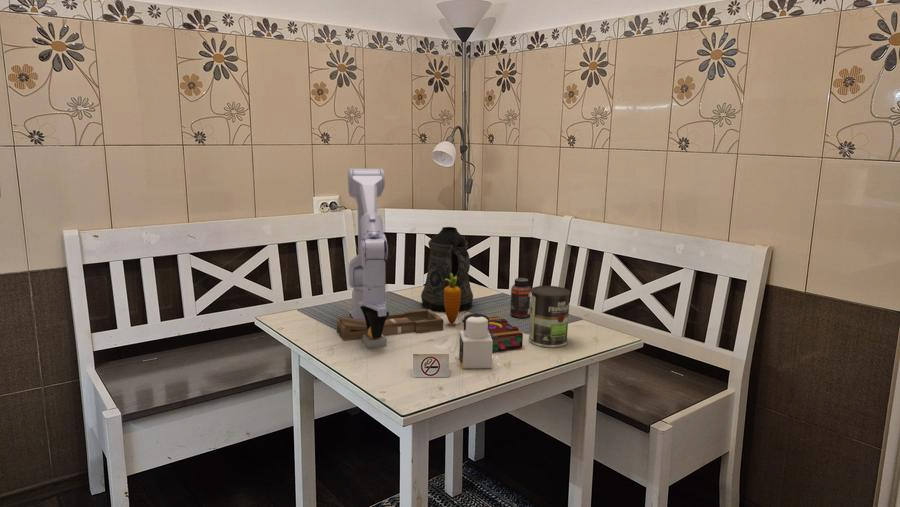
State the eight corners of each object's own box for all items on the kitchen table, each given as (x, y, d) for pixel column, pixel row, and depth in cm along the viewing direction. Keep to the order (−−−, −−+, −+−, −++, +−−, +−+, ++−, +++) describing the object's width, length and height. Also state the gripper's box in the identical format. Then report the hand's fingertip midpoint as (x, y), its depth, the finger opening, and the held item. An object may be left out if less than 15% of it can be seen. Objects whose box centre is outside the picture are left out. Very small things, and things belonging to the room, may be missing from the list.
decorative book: (498, 330, 171) (499, 313, 170) (525, 350, 157) (526, 332, 156) (461, 334, 167) (461, 317, 166) (485, 356, 153) (486, 337, 152)
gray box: (362, 341, 160) (362, 334, 159) (381, 339, 162) (381, 332, 161) (367, 348, 155) (367, 341, 155) (386, 345, 157) (386, 338, 157)
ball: (366, 336, 159) (366, 324, 158) (379, 335, 161) (379, 322, 160) (369, 341, 156) (369, 328, 155) (383, 339, 157) (382, 326, 157)
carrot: (458, 328, 172) (459, 276, 169) (441, 326, 173) (442, 275, 170) (461, 322, 177) (463, 272, 173) (445, 321, 178) (445, 271, 174)
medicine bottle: (459, 357, 150) (460, 311, 148) (487, 357, 151) (489, 311, 148) (461, 369, 143) (463, 320, 141) (491, 368, 144) (493, 320, 142)
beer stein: (441, 295, 205) (442, 221, 199) (490, 305, 194) (493, 228, 188) (410, 306, 192) (410, 228, 186) (460, 318, 181) (462, 235, 175)
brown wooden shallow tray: (335, 329, 169) (335, 315, 168) (429, 318, 180) (429, 305, 179) (344, 342, 159) (344, 327, 158) (443, 329, 170) (443, 316, 169)
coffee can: (575, 344, 161) (578, 293, 158) (543, 350, 156) (546, 297, 154) (551, 332, 170) (554, 283, 167) (521, 337, 165) (523, 287, 162)
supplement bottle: (533, 316, 184) (535, 280, 181) (519, 319, 180) (520, 282, 178) (520, 311, 189) (522, 276, 186) (506, 314, 185) (507, 278, 183)
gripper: (351, 278, 160) (352, 328, 163) (366, 293, 147) (367, 346, 150) (377, 276, 163) (377, 325, 166) (394, 290, 150) (394, 342, 153)
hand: (374, 334), depth 158 cm, fingers closed on ball, 3 cm apart
